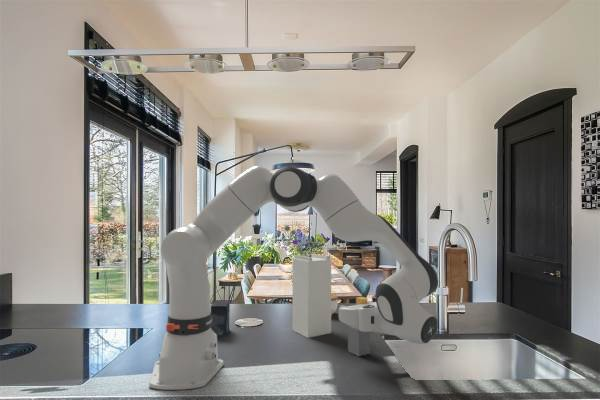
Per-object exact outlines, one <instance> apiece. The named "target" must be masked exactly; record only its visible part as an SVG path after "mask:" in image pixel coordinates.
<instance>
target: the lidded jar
mask: <svg viewBox="0 0 600 400" xmlns="http://www.w3.org/2000/svg"><path fill="white" fill-rule="evenodd" d="M338 301H339V295H337V294H334V293H331V316H333V314H334V313H335V312H336V310H337V309H338V303H339V302H338Z"/></svg>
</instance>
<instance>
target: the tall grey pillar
mask: <svg viewBox="0 0 600 400" xmlns="http://www.w3.org/2000/svg"><path fill="white" fill-rule="evenodd" d="M310 254H311V256H305V255H299V254H294V258H292V299H291V300H292V304H291V305H292V306H291V307H292V309H291V311H292V322H291V323H292V325H291V327H292V332H295V333H296V334H297V333H298V334H300V335H301V336H303V337H306V338H308V339H309V338H313V337H318V336H323V335H327V334H332V315H331V294H332V259H330V256H329V255H324V254H319V253H318V254H317V253H310Z"/></svg>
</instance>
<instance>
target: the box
mask: <svg viewBox="0 0 600 400" xmlns="http://www.w3.org/2000/svg"><path fill="white" fill-rule="evenodd" d="M230 304H231V301H230V300H214V302H213V303H212V304H210V313H211V314H212V326H211V329H212V330H213V332H214V333H215V334H217V337H226V336H227V334H228V333H229V331H230Z"/></svg>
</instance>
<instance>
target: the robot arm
mask: <svg viewBox="0 0 600 400" xmlns="http://www.w3.org/2000/svg"><path fill="white" fill-rule="evenodd" d="M273 202H274V203H275V204H276V205H279V206H280V207H281V208H283V209H285V210H287V211H289V212H292V213H298V212H299V213H300V212H302V211H305V210H306V209H308V208H309V207H312V208H314V209H315V210H316V211H317V213H318V214H319V215H320V217H321V218H322V219H323V221H324V222H325V224H326V225H327V227H328V228H329V231H330V232H331V233H332V234H333V235H334V236H335V237H336V238H337V239H340V240H341V241H344V242H348V243H350V242H352V243H356V242H357V243H358V242H364V241H373V242H377V243H379V244H380V245H381V246H383V247H384V248H385V249H386V250H387V252H388V253H389V254H390V255H391V256H392V257H393V259H395V260H396V262H397V263H398V264H399V266H400V268H399V269H398V270H397V271H395V272H394V273H393V274H391V275H389V276H387V277H386V278H385V279H384V280H382V281H381V282H380V283H379V284H378V285H377V286H376V288H375V292H374V293H375V294H374V295H375V296H376V302H372V301H368V300H367V303H365V304H359V305H356V304H353V305H349V306H347V305H345V304H344V305H343V304H342V305H339V308H338V320H339V321H340V322H342V323H344V324H345V325H348V326H353V327H358V328H359V330H360V331H362V332H370V333H374V332H375V333H381V334H386V335H389V336H396V337H397V338H398V339H400V340H402V341H406V342H409V343H413V344H418V345H425V344H426V345H427V344H428V343H429V342H431V341H432V340H433V338H435V336H436V334H437V331H438V327H439V322H438V319H437V317H436V316H435V315H433V314H432V313H430V312H428V311H426V309H424V307H422V305H421V304H420V302H421V301H422V300H424V299H425V298H427V297H428V296H430V295H432V294H433V293H435V292H436V291H437V289H438V287H439V286H438V285H439V279H438V274H437V271H436V269H435V268H434V267H433V266H432V265H431V264H430V263H429V262H428V261H427V260H426V259H425V258H423V257H422V256H421V255H420V254H419V253H417V251H416V250H415V249H414V248H413V247H412V246H411V245H410V244H409V242H408V241H407V240H406V239H405V238H404V237H403V236H402V235H401V234H400V233H399V232H398V231H397V229H396V228H395V227H394V226H393V225H392V224H391V223H390V222H389V221H388V220H387V219H386V218H385V217H383V216H382V215H380V214H376V213H373V212H371V211H370V210H369V209H368V208H366V206H364V205H363V203H362V202H361V201H360V199H359V197H358V196H357V195H356V193H354V191H353V190H352V189H351V188H350V186H349V185H348V184H347V183H346V181H344V180H343V179H342V178H341V177H340V176H339V175H336V174H333V173H332V174H331V173H329V174H324V175H323V176H320V177H319V178H317V179H316V177H315V176H314V175H312V174H310V173H308V172H306V171H304V170H302V169H300V168H298V167H295V166H283V167H281V168H279V169H277V170H276V171H275V172H274V173H272V172H271V171H270V170H269V169H267V168H265V167H263V166H262V165H253V166H252V167H250V168H248V169H246V170H245V171H243V172H242V173H240V174H239V175H237V176H236V178H234V179H232V180H231V182H230V183H228V184H227V185H226V186H225V187H224V188H223V189H222V190H220V192H218V193H217V194H216V195H215V196H214V197H213V198H212V199H211V200H210V201H208V202H207V204H206V205H205V206H204V208H203V209H202V210H201V212H200V213H198V214H197V216H196V217H195V218H194V219H193V220H192V221H191V222H190V223H189V224H187V225H186V226H180V227H177V228H175V229H173V230H171V231H170V232H168V233H167V235H166V236H165V237H164V239H163V240H162V242H161V246H160V252H161V257H162V258H163V260H164V264H165V268H166V269H165V271H166V274H167V279H168V280H167V281H168V286H169V287H168V288H169V299H168V300H169V301H168V302H169V305H168V306H169V308H168V309H169V315H167V321H166V326H165V327H166V328H165V330H166V333H165V334H163V341H162V346H161V350H160V352H159V353H158V355H159V356H158V357H159V360H157V361H155V363H154V366H153V370H152V373H151V376H150V379H149V384H148V386H149V388H151V389H155V390H162V391H163V390H167V391H175V390H177V391H178V390H179V391H180V390H189V389H190V390H191V389H198V388H202V387H204V386H206V385H208V383H210V381H211V379H212V378H214V377H215V375H216V374H217V373H218V372H219V371H220V370H221V369H222V367H223V366H224V360H223V359H221V358H218V356H219V355H218V353H219V352H218V336H217V334H215V333H214V332H213V330H212V329H211V326H212V314H211V284H210V281H209V275H208V268H207V260H208V259H209V258H210V257H211V256H212V255H213V254H214V253H215V252H216V251H217V250H219V248H220V247H221V246H222V245H223V244H224V243H225V242H226V241H227V240H228V239H229V238H231V236H232V235H233V234H234V233H235V232H236V231H237V230H239V228H241V226H243V225H244V224H245V223H247V221H249V219H250V218H251V217H253V215H255V214H256V213H257V212H259V210H260V209H261V208H263V206H265V205H266V204H268V203H273Z"/></svg>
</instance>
